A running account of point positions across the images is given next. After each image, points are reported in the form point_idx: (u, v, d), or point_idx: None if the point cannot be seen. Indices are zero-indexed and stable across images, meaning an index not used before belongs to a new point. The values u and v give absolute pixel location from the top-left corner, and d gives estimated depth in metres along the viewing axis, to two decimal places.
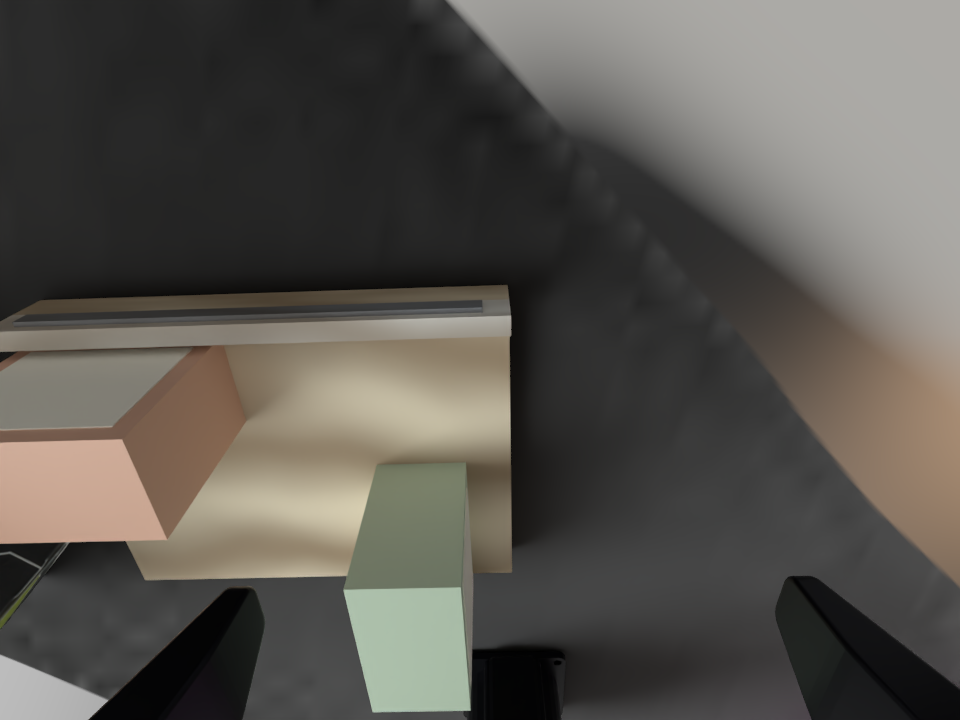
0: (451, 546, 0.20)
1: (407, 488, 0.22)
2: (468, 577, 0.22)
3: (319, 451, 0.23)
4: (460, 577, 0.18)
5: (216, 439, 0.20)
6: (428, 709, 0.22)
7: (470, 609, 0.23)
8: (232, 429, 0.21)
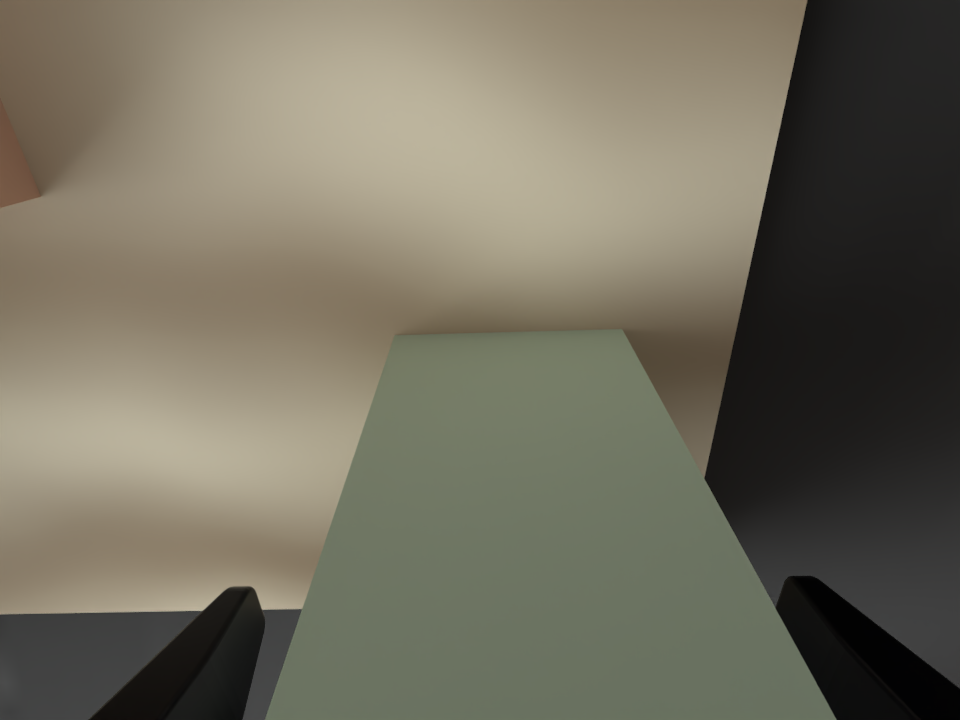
0: (693, 536, 0.05)
1: (484, 378, 0.08)
2: None
3: (246, 295, 0.09)
4: (805, 675, 0.04)
5: None
6: None
7: None
8: None
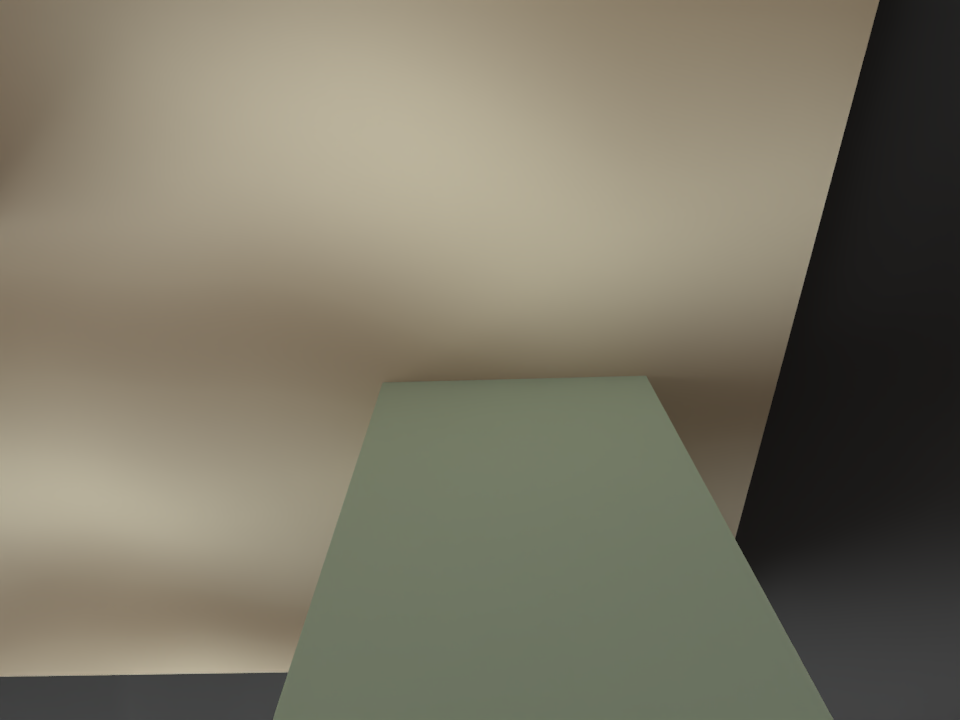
0: (766, 700, 0.04)
1: (486, 443, 0.07)
2: None
3: (210, 337, 0.08)
4: None
5: None
6: None
7: None
8: None
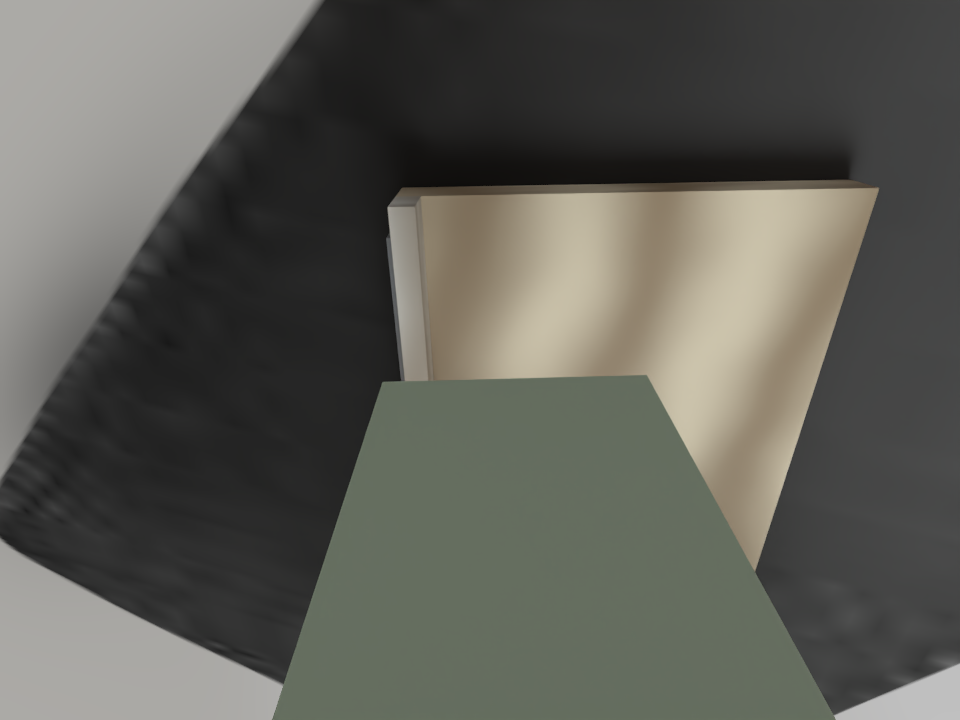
0: (768, 700, 0.04)
1: (487, 443, 0.07)
2: None
3: None
4: None
5: None
6: None
7: None
8: None
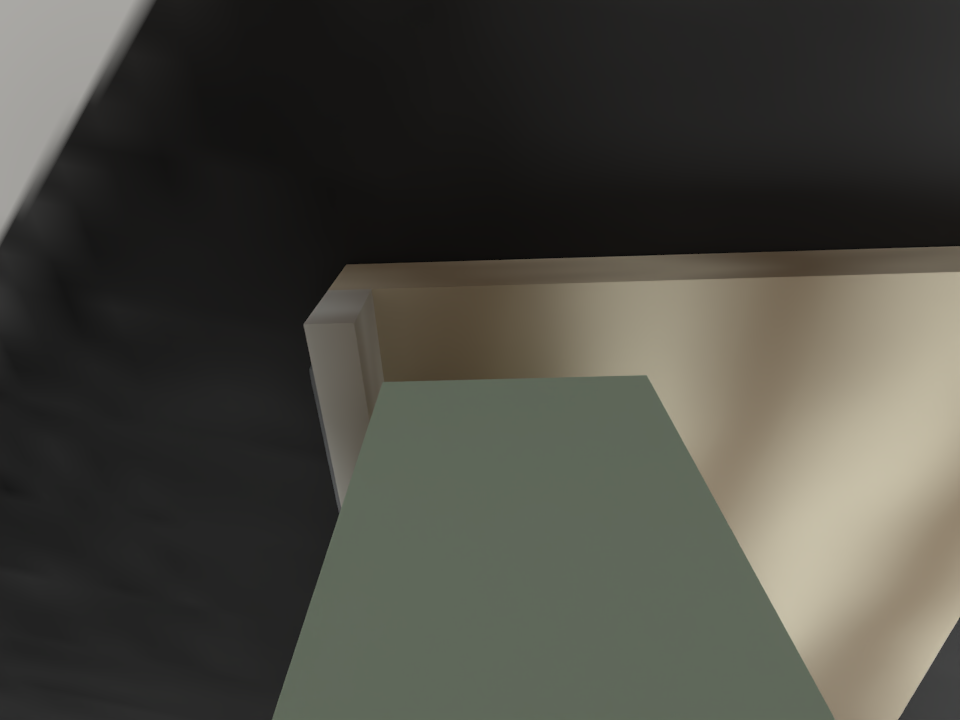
0: (768, 701, 0.04)
1: (486, 443, 0.07)
2: None
3: None
4: None
5: None
6: None
7: None
8: None
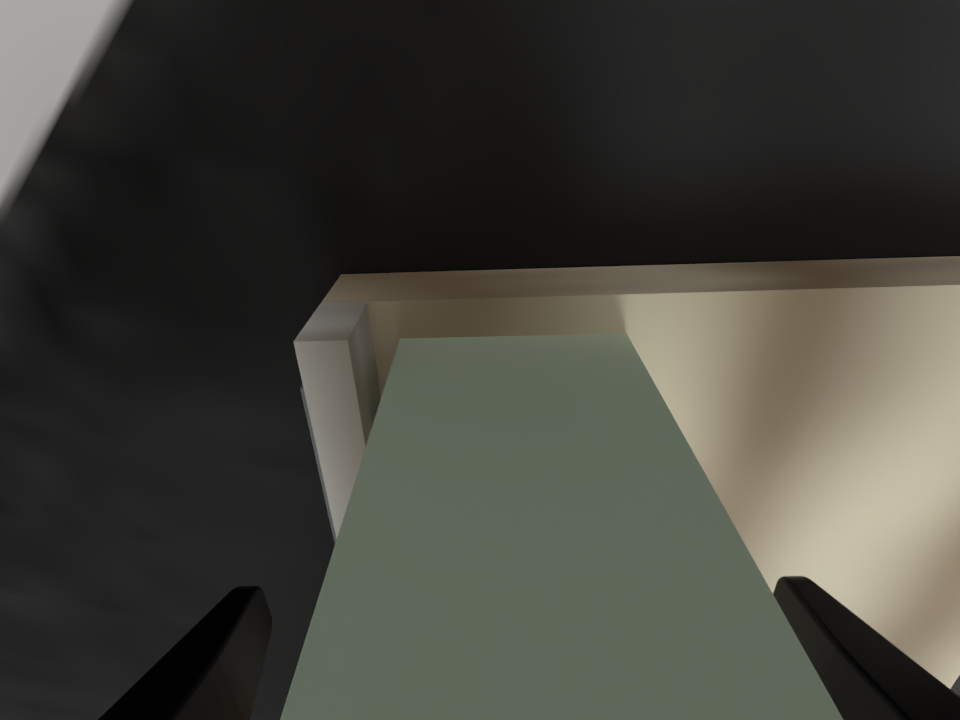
0: (700, 541, 0.05)
1: (489, 382, 0.08)
2: None
3: None
4: (814, 681, 0.04)
5: None
6: None
7: None
8: None
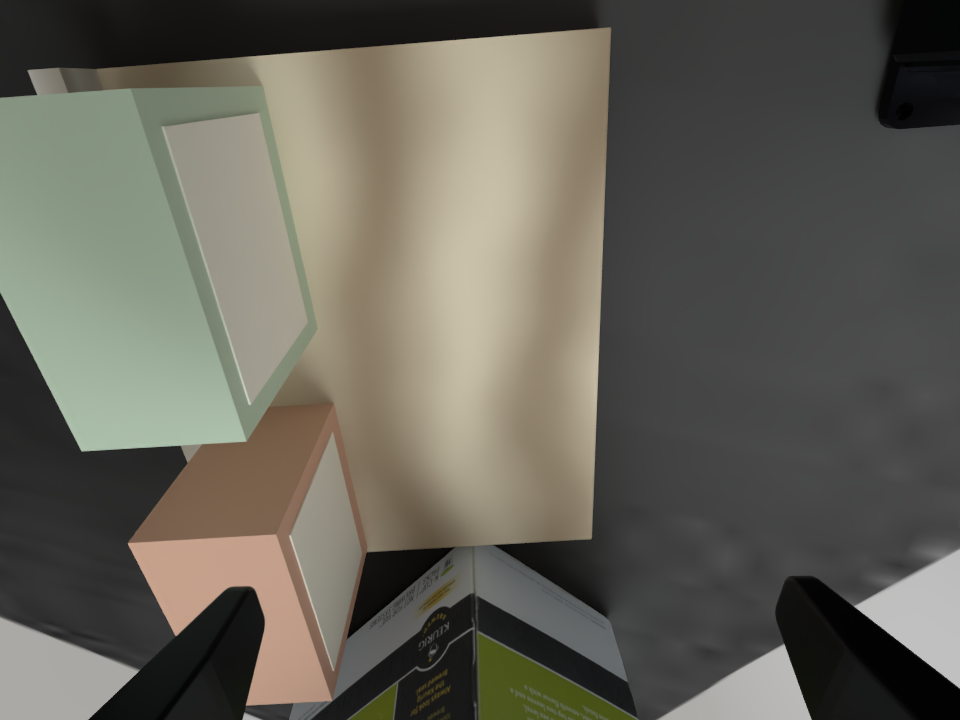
0: None
1: None
2: (246, 228, 0.13)
3: (366, 331, 0.18)
4: (143, 91, 0.10)
5: (292, 442, 0.18)
6: (173, 441, 0.13)
7: (263, 301, 0.14)
8: (314, 421, 0.19)
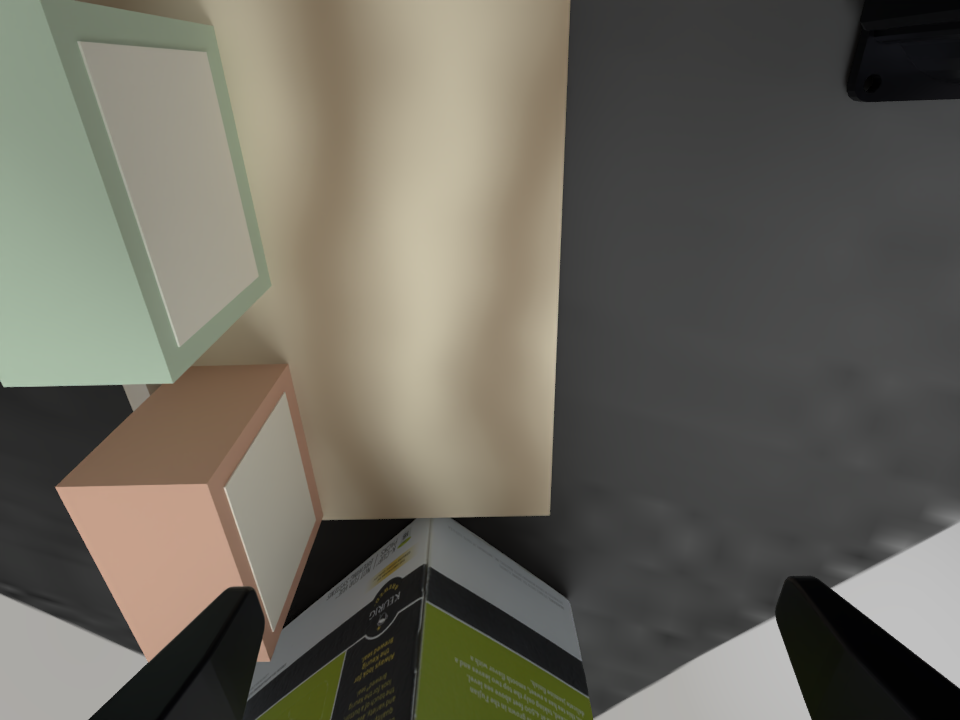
0: None
1: None
2: (183, 167, 0.13)
3: (321, 289, 0.18)
4: (55, 0, 0.09)
5: (239, 399, 0.17)
6: (98, 380, 0.12)
7: (202, 244, 0.14)
8: (265, 379, 0.18)
